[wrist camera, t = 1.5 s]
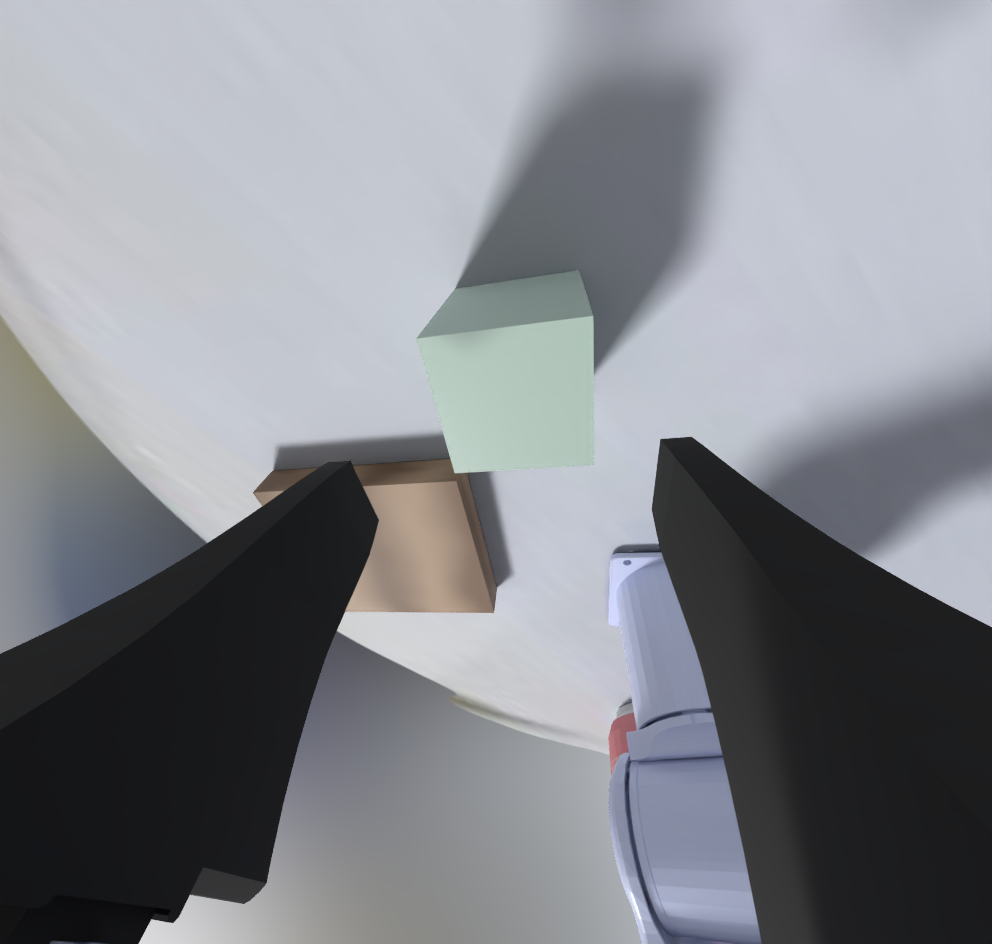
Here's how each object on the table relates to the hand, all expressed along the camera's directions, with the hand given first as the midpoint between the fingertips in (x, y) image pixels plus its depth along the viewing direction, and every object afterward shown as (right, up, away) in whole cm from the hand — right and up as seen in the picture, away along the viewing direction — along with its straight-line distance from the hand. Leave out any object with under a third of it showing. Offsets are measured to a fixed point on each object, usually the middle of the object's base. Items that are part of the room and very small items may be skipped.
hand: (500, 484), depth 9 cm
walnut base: (-7, -4, +17) cm, 18 cm away
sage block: (+1, +6, +8) cm, 10 cm away
